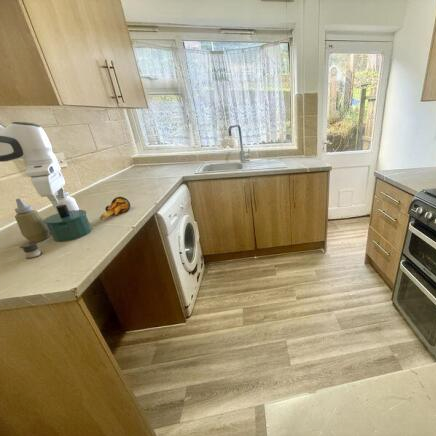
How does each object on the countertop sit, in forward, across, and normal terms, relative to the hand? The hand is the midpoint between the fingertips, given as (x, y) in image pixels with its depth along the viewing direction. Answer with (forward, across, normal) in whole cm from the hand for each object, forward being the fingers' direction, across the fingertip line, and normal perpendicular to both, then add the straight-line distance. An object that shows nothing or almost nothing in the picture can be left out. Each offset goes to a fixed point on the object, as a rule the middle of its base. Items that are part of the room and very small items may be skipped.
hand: (59, 201), depth 99 cm
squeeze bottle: (+16, -3, -12) cm, 20 cm away
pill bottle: (+16, -17, -3) cm, 23 cm away
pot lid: (+7, 0, 0) cm, 7 cm away
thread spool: (+16, +14, -9) cm, 23 cm away
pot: (+16, 0, 0) cm, 16 cm away
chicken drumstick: (+16, -16, +15) cm, 27 cm away
